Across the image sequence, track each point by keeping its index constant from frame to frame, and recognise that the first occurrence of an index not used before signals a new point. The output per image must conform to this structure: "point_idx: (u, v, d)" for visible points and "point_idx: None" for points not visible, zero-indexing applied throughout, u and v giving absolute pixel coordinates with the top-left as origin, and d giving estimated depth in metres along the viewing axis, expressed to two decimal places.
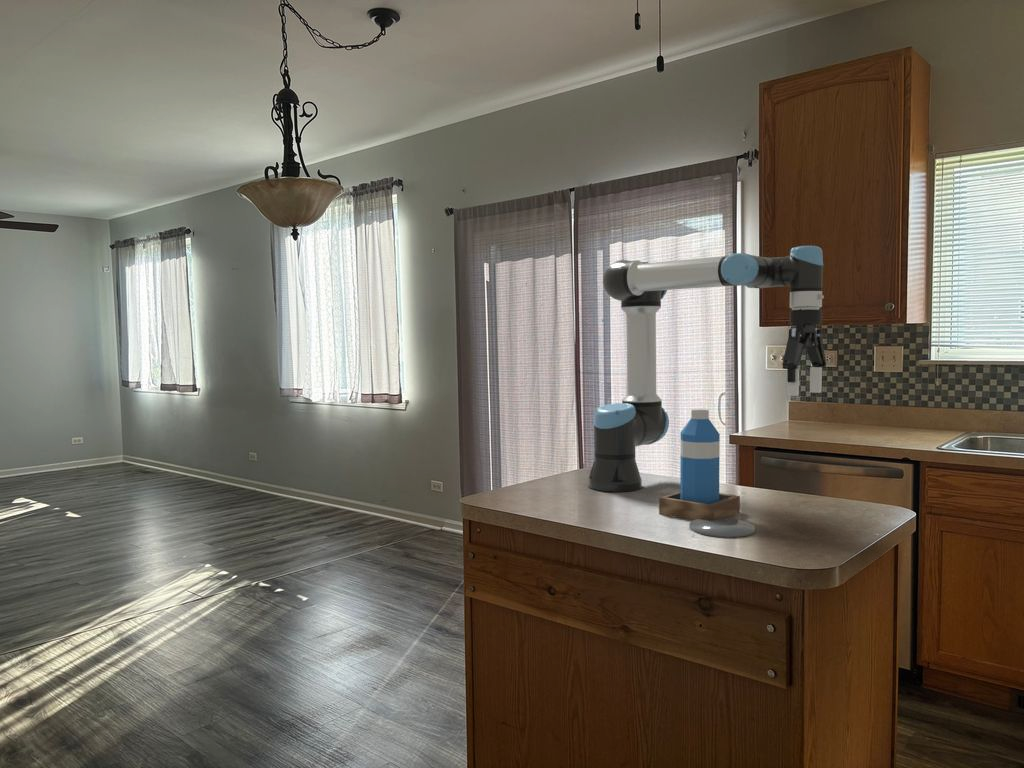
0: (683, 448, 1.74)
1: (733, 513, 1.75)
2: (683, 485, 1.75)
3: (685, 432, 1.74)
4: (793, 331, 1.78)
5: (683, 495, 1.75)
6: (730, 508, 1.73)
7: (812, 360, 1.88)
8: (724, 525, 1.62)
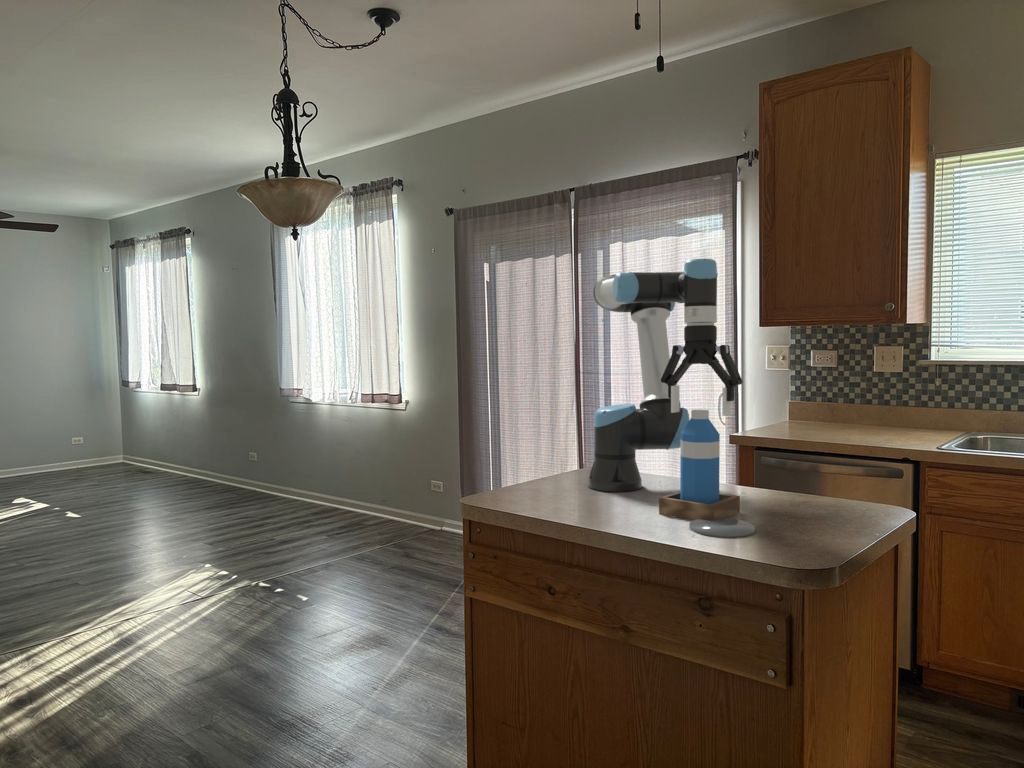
0: (683, 448, 1.74)
1: (733, 513, 1.75)
2: (683, 485, 1.75)
3: (685, 432, 1.74)
4: None
5: (683, 495, 1.75)
6: (730, 508, 1.73)
7: None
8: (724, 525, 1.62)
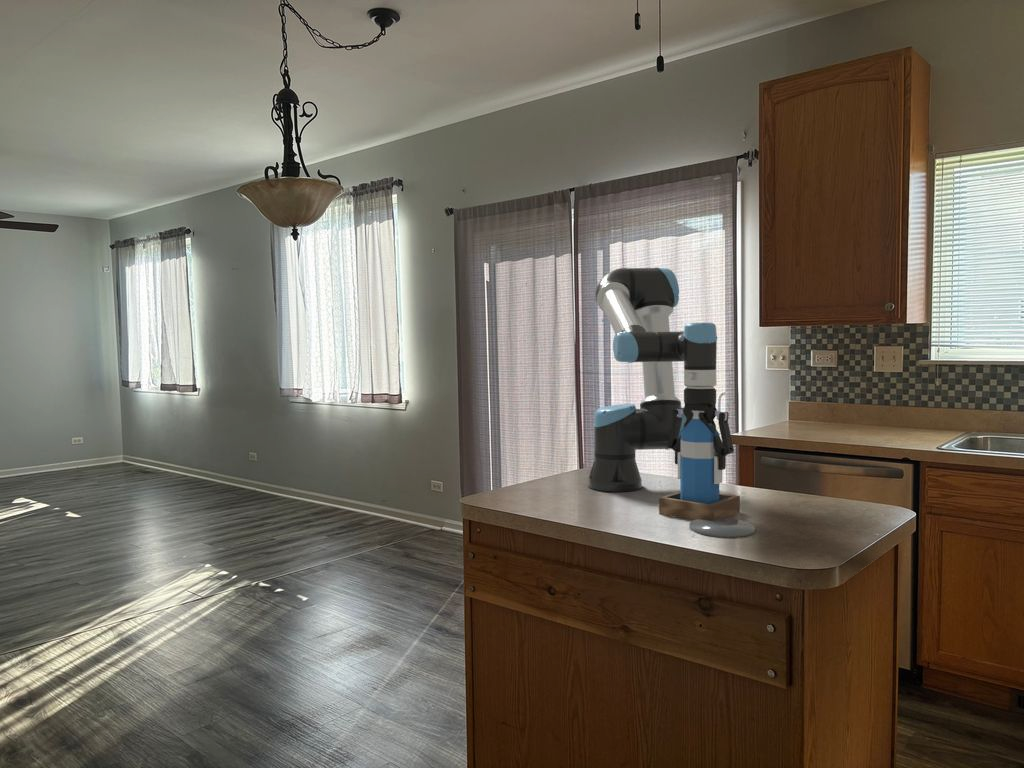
0: (683, 448, 1.74)
1: (733, 513, 1.75)
2: (683, 485, 1.75)
3: (685, 432, 1.74)
4: None
5: (683, 495, 1.75)
6: (730, 508, 1.73)
7: None
8: (724, 525, 1.62)
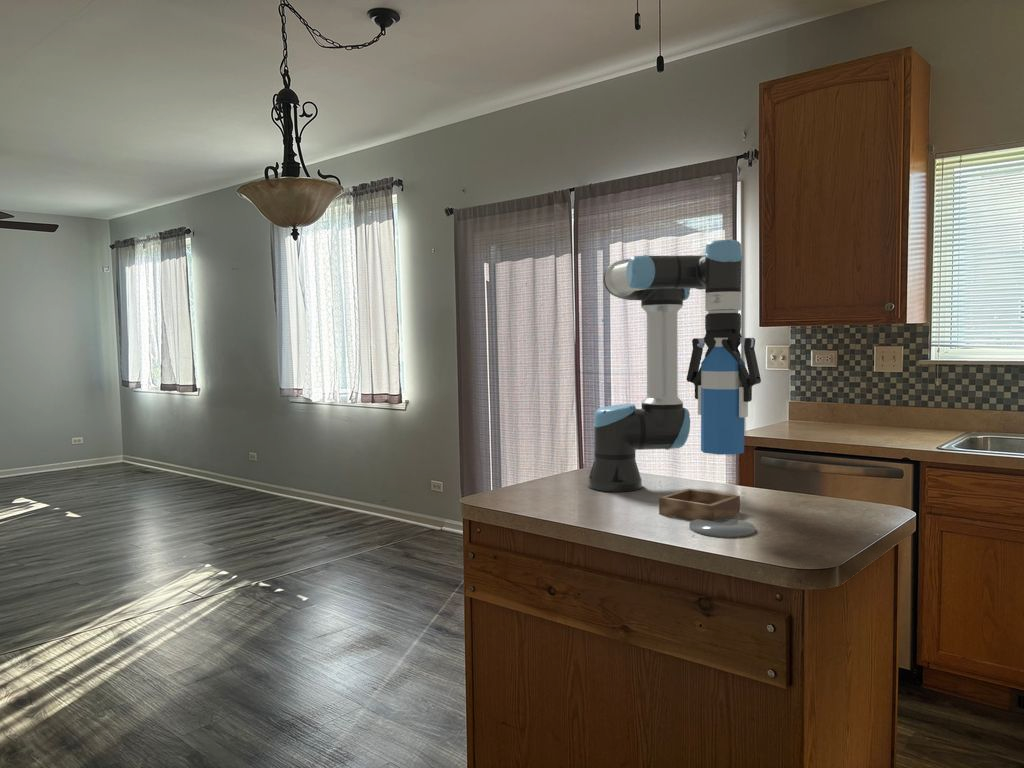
0: (704, 379, 1.58)
1: (733, 513, 1.75)
2: (704, 420, 1.59)
3: (707, 361, 1.58)
4: None
5: (704, 431, 1.59)
6: (730, 508, 1.73)
7: None
8: (724, 525, 1.62)
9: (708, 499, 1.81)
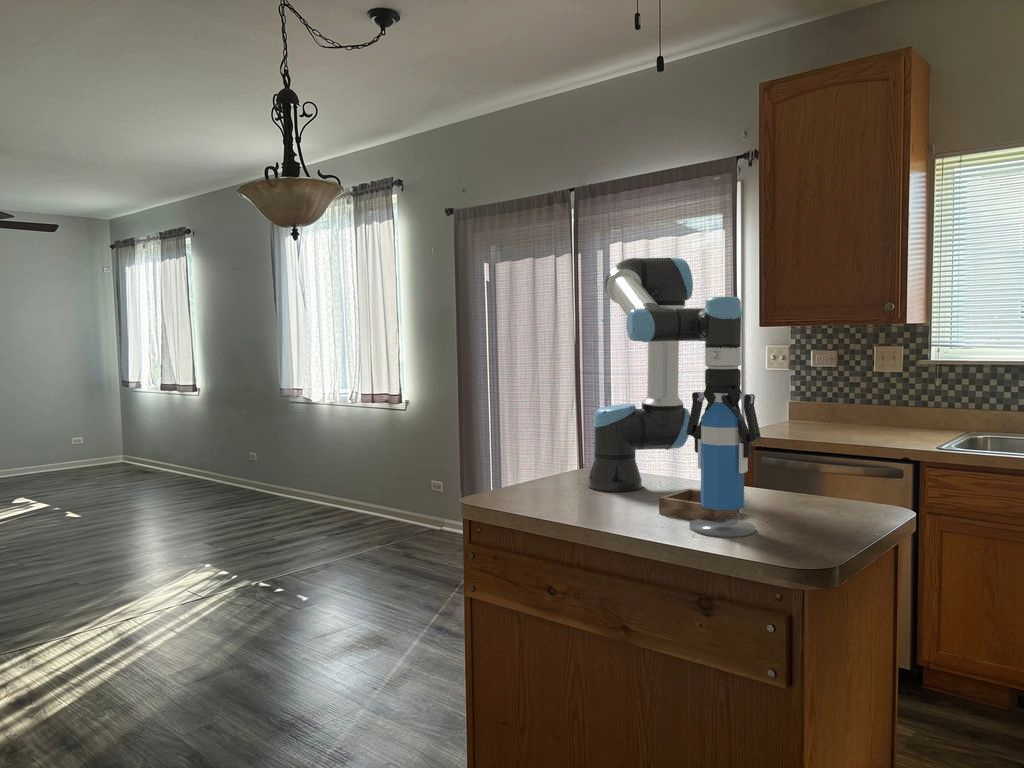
0: (704, 434, 1.59)
1: (733, 513, 1.75)
2: (704, 475, 1.60)
3: (707, 416, 1.59)
4: None
5: (704, 486, 1.60)
6: None
7: None
8: (724, 525, 1.62)
9: None
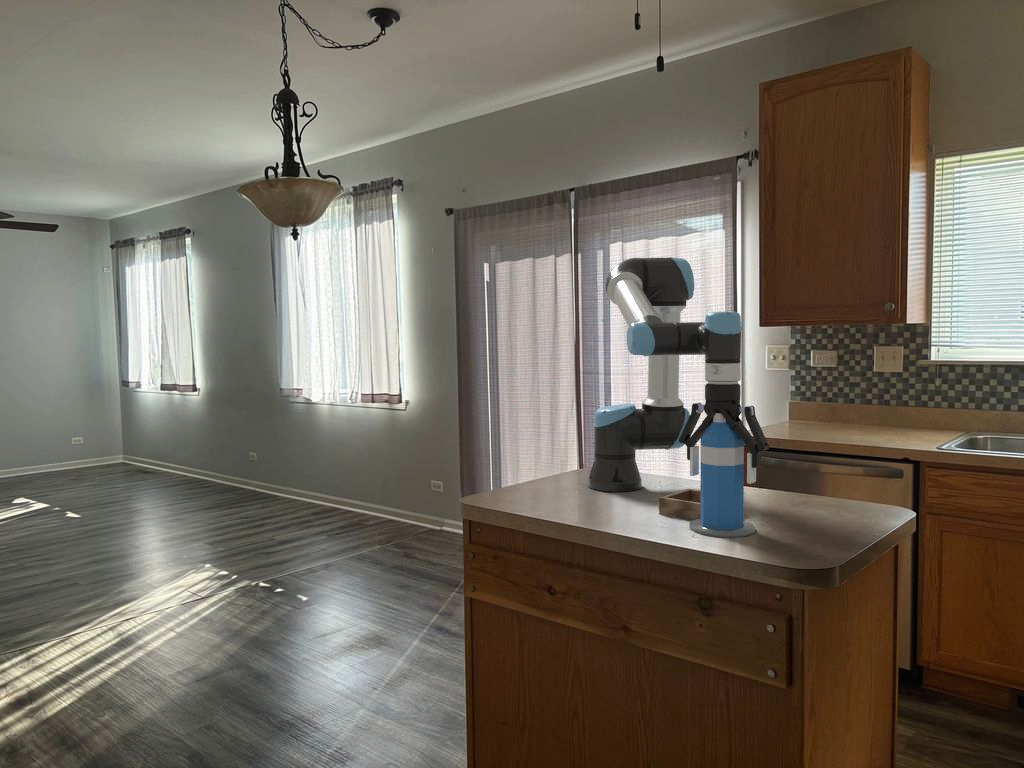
0: (704, 454, 1.60)
1: None
2: (704, 494, 1.60)
3: (706, 437, 1.59)
4: None
5: (704, 505, 1.60)
6: None
7: None
8: None
9: None
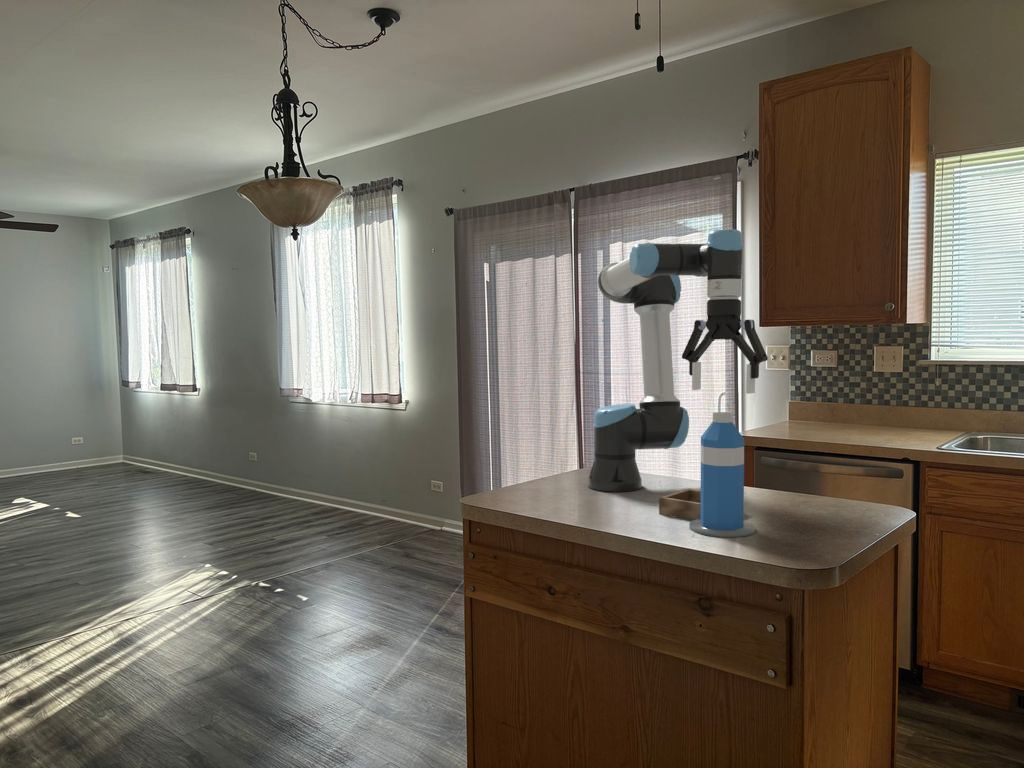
0: (704, 454, 1.59)
1: None
2: (704, 495, 1.60)
3: (706, 437, 1.59)
4: None
5: (704, 506, 1.60)
6: None
7: None
8: None
9: None
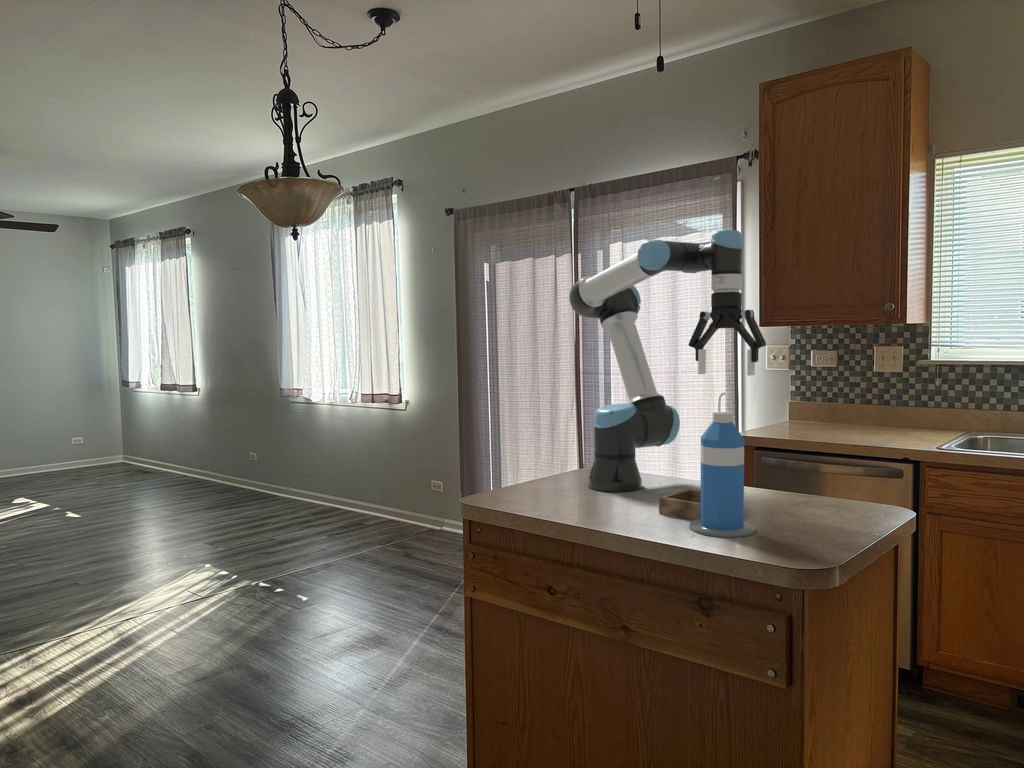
0: (704, 454, 1.59)
1: None
2: (704, 495, 1.60)
3: (706, 437, 1.59)
4: None
5: (704, 506, 1.60)
6: None
7: None
8: None
9: None
